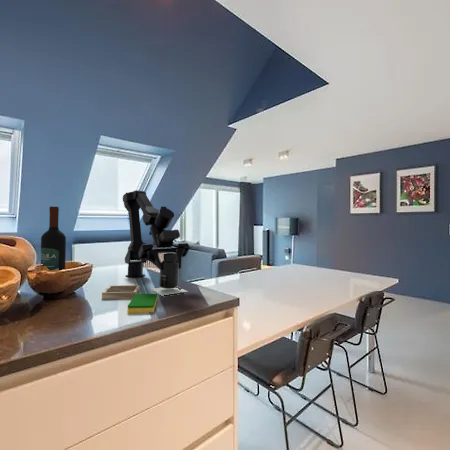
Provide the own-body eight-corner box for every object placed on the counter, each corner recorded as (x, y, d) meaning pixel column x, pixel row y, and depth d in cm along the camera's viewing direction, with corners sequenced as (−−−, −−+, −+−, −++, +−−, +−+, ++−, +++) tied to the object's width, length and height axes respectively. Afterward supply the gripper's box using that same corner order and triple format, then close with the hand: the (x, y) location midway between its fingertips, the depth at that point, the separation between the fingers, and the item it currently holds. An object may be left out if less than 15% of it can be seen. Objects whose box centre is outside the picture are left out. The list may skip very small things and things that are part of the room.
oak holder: (109, 291, 104) (109, 285, 104) (139, 290, 105) (139, 285, 105) (101, 299, 93) (101, 292, 93) (135, 298, 95) (135, 292, 95)
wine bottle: (69, 291, 103) (70, 207, 102) (46, 295, 96) (48, 205, 96) (58, 288, 107) (59, 207, 106) (35, 291, 100) (37, 206, 100)
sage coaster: (151, 290, 106) (151, 288, 106) (175, 287, 112) (175, 285, 112) (161, 296, 98) (161, 294, 98) (187, 293, 104) (187, 291, 104)
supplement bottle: (156, 288, 102) (158, 254, 101) (161, 284, 108) (163, 252, 108) (175, 289, 101) (177, 255, 101) (179, 285, 108) (181, 253, 108)
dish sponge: (127, 314, 80) (127, 306, 80) (135, 301, 93) (135, 293, 93) (153, 314, 81) (153, 305, 81) (157, 300, 94) (157, 293, 94)
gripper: (141, 221, 102) (152, 256, 94) (188, 222, 113) (201, 253, 104) (134, 242, 109) (143, 276, 100) (179, 241, 120) (190, 271, 111)
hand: (171, 268), depth 104 cm, fingers closed on supplement bottle, 7 cm apart
